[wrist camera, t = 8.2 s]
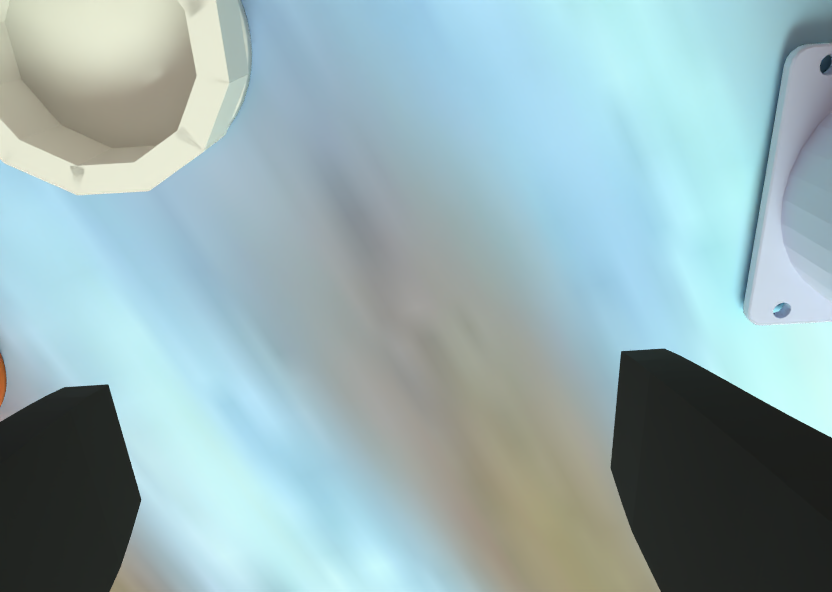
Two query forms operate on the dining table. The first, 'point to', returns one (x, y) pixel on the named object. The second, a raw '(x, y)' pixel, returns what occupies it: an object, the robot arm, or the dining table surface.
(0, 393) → the coffee cup
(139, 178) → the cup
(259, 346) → the dining table surface
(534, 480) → the dining table surface
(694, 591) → the robot arm
